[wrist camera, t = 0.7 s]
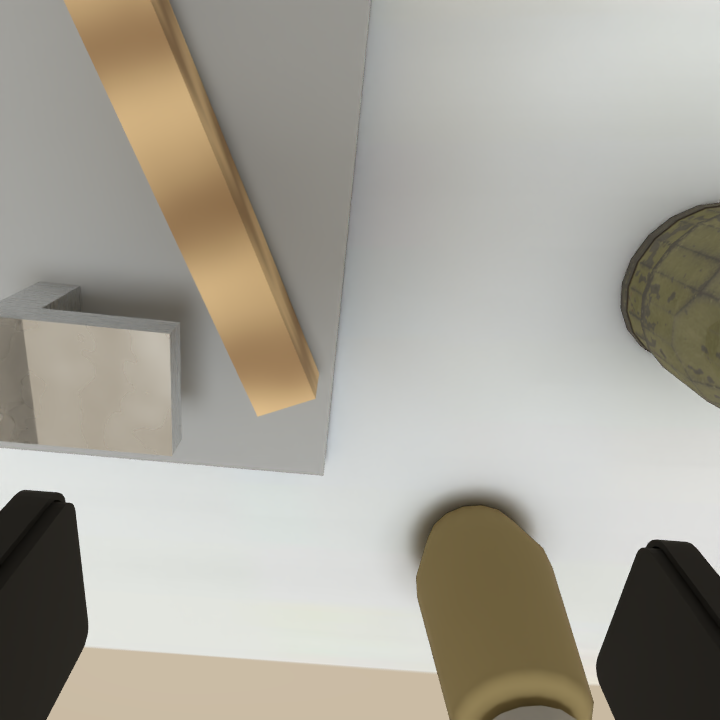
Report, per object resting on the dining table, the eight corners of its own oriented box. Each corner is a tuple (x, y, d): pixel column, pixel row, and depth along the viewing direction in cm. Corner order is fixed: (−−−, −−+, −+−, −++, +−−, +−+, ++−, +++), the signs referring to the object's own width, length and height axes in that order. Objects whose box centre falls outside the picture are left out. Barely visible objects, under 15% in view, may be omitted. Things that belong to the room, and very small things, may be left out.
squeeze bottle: (401, 582, 37) (439, 946, 21) (419, 482, 34) (481, 816, 18) (518, 592, 38) (647, 956, 21) (547, 494, 35) (725, 830, 18)
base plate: (-106, -251, 21) (-139, -277, 20) (388, -178, 22) (391, -198, 21) (2, 432, 33) (-14, 446, 31) (324, 461, 34) (323, 475, 32)
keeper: (39, 281, 28) (-29, 314, 23) (201, 297, 28) (169, 333, 23) (52, 389, 30) (-8, 440, 25) (201, 403, 30) (172, 456, 25)
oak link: (24, -118, 21) (-122, -227, 15) (118, -160, 21) (10, -293, 14) (257, 392, 30) (230, 467, 23) (328, 370, 29) (320, 440, 23)
